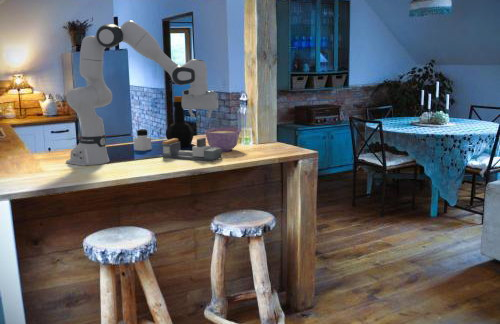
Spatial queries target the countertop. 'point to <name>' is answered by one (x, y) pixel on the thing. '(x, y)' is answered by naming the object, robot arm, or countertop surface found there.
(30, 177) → the countertop surface
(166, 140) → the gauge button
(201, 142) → the carriage
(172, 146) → the rail
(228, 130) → the bowl of food
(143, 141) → the medicine bottle
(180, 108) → the bottle
